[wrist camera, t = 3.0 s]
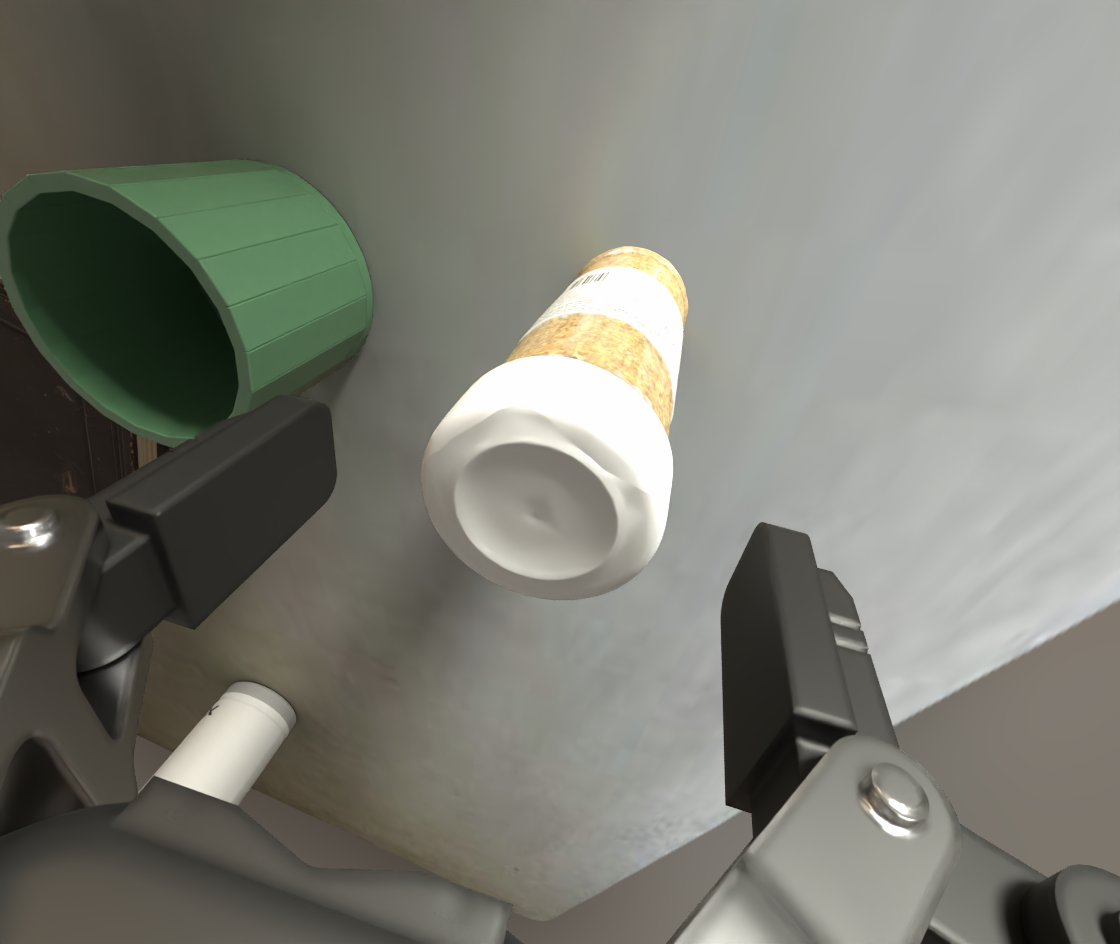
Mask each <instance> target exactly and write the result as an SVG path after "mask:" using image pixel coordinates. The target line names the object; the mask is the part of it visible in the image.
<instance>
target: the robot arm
mask: <svg viewBox="0 0 1120 944" xmlns="http://www.w3.org/2000/svg"><path fill="white" fill-rule="evenodd" d="M336 478H337V469H336V459H335V449H334V439H333V429H332V419H331V413H330V410H329V408H328V407H327V406H326V405H325V404H323V403H319V402H316V401H312V400H308V399H304V398H301V397H297V396H293V395H289V394H280V395H278V396H276V397H274V398H272V399H271V400H269V401H267V402H266V403H264V404H263V405H261V406H259V407H258V408H256V409H254V410H253V411H251V412H247V413H244V414H241V415H238V416H235V417H231V418H228V419H225V420H222V421H219V422H217V423H215V424H214V425H212V426H210V427H209V428H207V429H205V430H204V431H202V432H200V433H198V434H197V435H195V436H194V439H193V440H192V439H188V440H187V441H185V442H183V443H181V444H180V445H178V446H176V447H175V448H174V450H173V452H169V451H168V452H166V453H165V454H163V455H161V456H159V457H158V458H156V459H154V460H153V461H151V462H149V463H148V464H146V465H144V466H142V467H141V468H139V469H137V470H136V471H134V472H132V473H131V474H129V475H127V476H125V477H124V478H122V479H120V480H119V481H117V482H115V483H114V484H112V485H110V486H108V487H107V488H105V489H103V490H102V491H100V492H98V493H97V494H95V495H93V496H92V497H90V498H88V499H84V498H81V497H78V496H73V495H59V494H55V495H42V496H35V497H30V498H25V499H20V500H17V501H13V502H10V503H7V504H4V505H1V506H0V944H523V943H522V942H521V941H520V940H518V939H517V938H516V937H515V936H514V935H512V934H511V933H510V932H509V931H507V927H508V923H509V919H510V915H511V911H512V907H513V904H510V903H507V902H505V901H502V900H499V899H496V898H493V897H491V896H488V895H485V894H482V893H480V892H477V891H474V890H471V889H468V888H466V887H463V886H460V885H457V884H455V883H452V882H449V881H446V880H443V879H440V878H438V877H435V876H432V875H430V874H427V873H424V872H421V871H402V870H401V871H400V870H366V869H328V868H316V867H312V866H310V865H307V864H306V863H304V862H303V861H302V860H300V859H299V858H298V857H297V856H296V855H294V854H293V853H292V852H291V851H290V850H289V849H287V848H286V847H285V846H284V845H283V844H282V843H281V842H279V841H278V840H277V839H276V838H275V837H274V836H272V835H271V834H270V833H269V832H268V831H267V830H265V829H264V828H263V827H262V826H261V825H260V824H258V823H257V822H256V821H255V820H254V819H253V818H251V817H250V816H249V815H248V814H247V813H246V812H244V811H243V810H242V809H241V808H240V807H238V806H237V805H235V804H232V803H229V802H227V801H224V800H221V799H218V798H215V797H213V796H210V795H207V794H204V793H202V792H199V791H196V790H193V789H190V788H188V787H185V786H182V785H179V784H177V783H174V782H171V781H168V780H165V779H163V778H160V777H157V776H153V777H152V778H151V779H150V781H149V782H148V783H147V784H146V785H145V786H144V788H143V789H142V790H141V791H140V792H139V793H138V788H137V782H136V776H135V771H134V749H135V743H136V738H137V732H138V727H139V721H140V716H141V711H142V705H143V700H144V695H145V689H146V684H147V679H148V673H149V668H150V662H151V657H152V652H153V644H154V641H153V637H152V634H151V632H150V631H152V630H153V629H154V628H155V627H156V626H157V625H158V624H159V623H161V622H162V621H163V620H166V621H169V622H172V623H175V624H178V625H181V626H184V627H187V628H190V629H193V630H195V629H196V628H197V627H198V626H199V625H200V624H201V623H202V622H203V621H204V620H205V619H206V618H207V617H208V616H209V615H210V614H211V613H212V612H213V611H214V610H215V609H216V608H217V607H218V606H219V605H220V604H222V603H223V602H224V601H225V600H226V599H227V598H228V597H229V596H230V595H231V594H232V593H233V592H234V591H235V590H236V589H237V588H238V587H239V586H240V585H241V584H242V583H243V582H244V581H245V580H246V579H247V578H248V577H249V576H250V575H252V574H253V573H254V572H255V571H256V570H257V569H258V568H259V567H260V566H261V565H262V564H263V563H264V562H265V561H266V560H267V559H268V558H269V557H270V556H271V555H272V554H273V553H274V552H275V551H276V550H277V549H278V548H279V547H280V546H282V545H283V544H284V543H285V542H286V541H287V540H288V539H289V538H290V537H291V536H292V535H293V534H294V533H295V532H296V531H297V530H298V529H299V528H300V527H301V526H302V525H303V524H304V523H305V522H306V521H307V520H308V519H309V518H311V517H312V516H313V515H314V514H315V513H316V512H317V511H318V510H319V509H320V508H321V507H322V506H323V505H324V504H325V503H326V502H327V500H328V499H329V497H330V496H331V494H332V492H333V489H334V487H335V483H336ZM860 627H861V623H860V620H859V617H858V614H857V610H856V607H855V604H854V601H853V598H852V597H851V595H850V594H849V593H848V592H847V590H846V589H845V588H844V586H843V585H842V584H841V582H840V581H839V580H838V578H837V577H836V576H835V574H834V573H833V572H831V571H827V570H824V569H820V568H817V565H816V561H815V557H814V553H813V549H812V545H811V541H810V538H809V536H808V535H807V534H805V533H801V532H797V531H794V530H790V529H786V528H782V527H779V526H775V525H771V524H767V523H764V522H761V523H759V524H758V525H757V527H756V528H755V530H754V532H753V534H752V536H751V538H750V540H749V542H748V544H747V546H746V548H745V550H744V552H743V554H742V556H741V558H740V560H739V563H738V565H737V567H736V569H735V571H734V573H733V575H732V577H731V579H730V581H729V583H728V585H727V588H726V591H725V594H724V598H723V603H722V608H721V651H722V689H723V726H724V764H725V801H726V805H727V806H730V807H733V808H736V809H739V810H742V811H745V812H749V813H752V828H753V839H752V840H751V841H750V842H749V843H748V844H747V845H746V847H745V848H744V849H743V850H742V852H741V853H740V854H739V855H738V856H737V858H736V859H735V860H734V861H733V863H732V864H731V865H730V866H729V868H728V869H727V870H726V871H725V872H724V874H723V875H722V876H721V878H719V880H718V881H717V882H716V883H715V885H714V886H713V887H712V888H711V890H710V891H709V892H708V893H707V894H706V896H705V897H704V898H703V899H702V901H701V902H700V903H699V904H698V905H697V907H696V908H695V909H694V910H693V912H692V913H691V914H690V915H689V916H688V918H687V919H686V920H685V921H684V922H683V924H682V925H681V926H680V927H679V929H678V930H677V931H676V932H675V933H674V935H673V936H672V937H671V938H670V940H669V941H668V942H667V943H666V944H1120V877H1119V876H1117V875H1115V874H1112V873H1110V872H1108V871H1105V870H1103V869H1100V868H1096V867H1093V866H1088V865H1072V866H1069V867H1067V868H1065V869H1063V870H1061V871H1060V872H1058V873H1056V874H1054V875H1052V876H1051V877H1049V878H1047V877H1046V876H1044V875H1043V874H1041V873H1039V872H1038V871H1036V870H1034V869H1033V868H1031V867H1029V866H1028V865H1026V864H1024V863H1023V862H1021V861H1019V860H1018V859H1016V858H1015V857H1013V856H1011V855H1009V854H1008V853H1006V852H1005V851H1003V850H1001V849H1000V848H998V847H996V846H995V845H993V844H991V843H989V842H988V841H987V840H985V839H983V838H981V837H980V836H978V835H977V834H975V833H974V832H972V831H971V830H969V829H968V828H966V827H965V826H963V825H962V824H960V823H959V820H958V817H957V814H956V812H955V810H954V808H953V806H952V804H951V802H950V801H949V799H948V797H947V796H946V794H945V793H944V791H943V790H942V789H941V787H940V786H939V785H938V783H937V782H936V781H935V779H933V777H932V776H931V775H930V774H929V773H928V772H927V771H926V770H925V769H924V768H923V767H922V766H921V765H920V764H919V763H918V762H916V761H915V760H914V759H913V758H911V757H910V756H909V755H907V754H906V753H904V752H903V751H901V750H900V748H899V745H898V742H897V739H896V735H895V732H894V729H893V726H892V723H891V719H890V716H889V713H888V710H887V707H886V703H885V700H884V697H883V694H882V690H881V687H880V684H879V681H878V678H877V674H876V671H875V668H874V665H873V662H872V658H871V655H870V654H867V651H868V646H867V642H866V639H865V636H864V633H863V631H861V630H860Z"/></svg>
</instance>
